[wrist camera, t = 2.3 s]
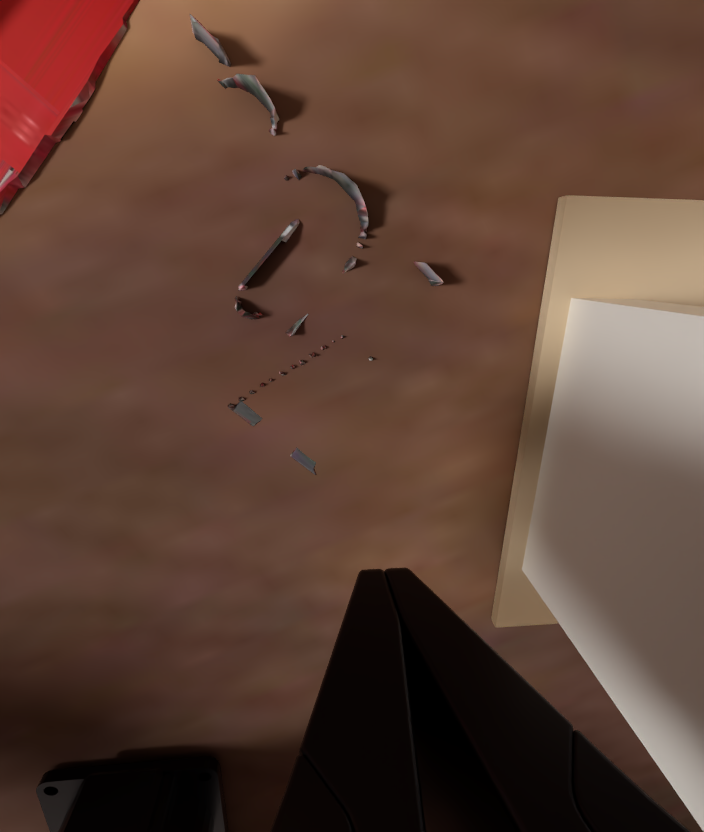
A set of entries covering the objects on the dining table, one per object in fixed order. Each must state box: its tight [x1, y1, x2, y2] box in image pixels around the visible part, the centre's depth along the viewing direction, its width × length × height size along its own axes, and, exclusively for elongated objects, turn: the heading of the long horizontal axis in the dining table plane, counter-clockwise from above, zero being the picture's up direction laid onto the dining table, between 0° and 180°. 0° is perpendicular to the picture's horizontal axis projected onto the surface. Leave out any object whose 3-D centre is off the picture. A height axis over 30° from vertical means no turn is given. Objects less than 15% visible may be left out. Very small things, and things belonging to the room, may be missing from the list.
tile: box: [522, 298, 704, 831], centre depth 9 cm, size 9×2×9 cm, turn 179°
